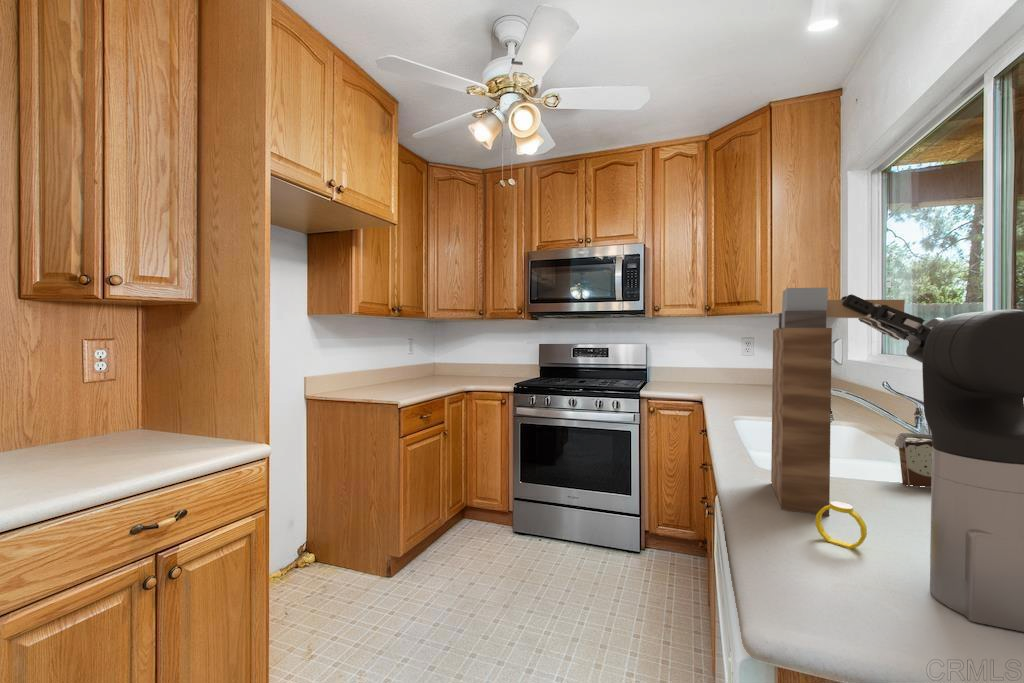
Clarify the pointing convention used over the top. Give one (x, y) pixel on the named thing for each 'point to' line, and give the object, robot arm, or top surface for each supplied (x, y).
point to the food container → (915, 458)
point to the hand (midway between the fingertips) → (843, 300)
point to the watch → (844, 509)
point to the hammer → (825, 303)
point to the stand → (801, 411)
